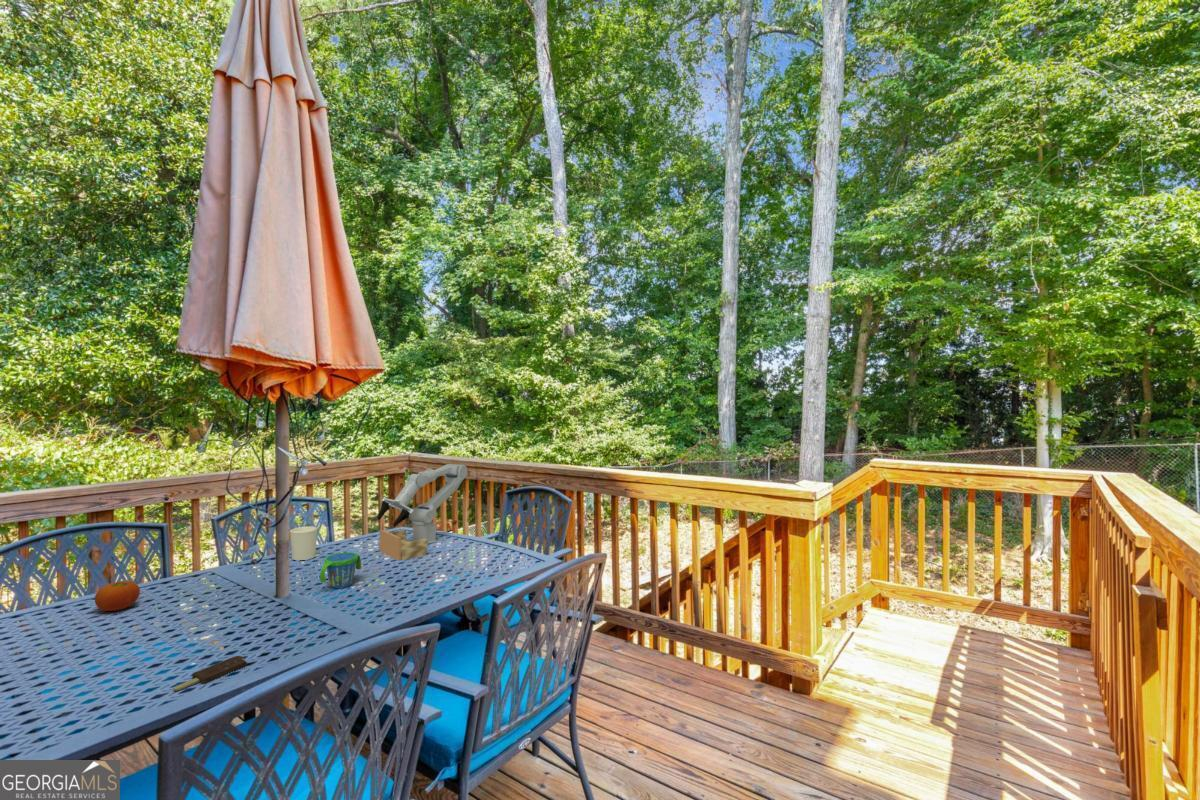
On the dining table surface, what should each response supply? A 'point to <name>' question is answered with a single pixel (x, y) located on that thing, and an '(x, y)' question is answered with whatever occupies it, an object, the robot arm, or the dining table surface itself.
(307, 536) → the candle holder
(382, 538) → the tailgate
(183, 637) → the dining table surface
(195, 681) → the ice cream bar
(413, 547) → the cart bed
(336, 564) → the snack cup
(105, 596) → the fruit
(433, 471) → the robot arm
